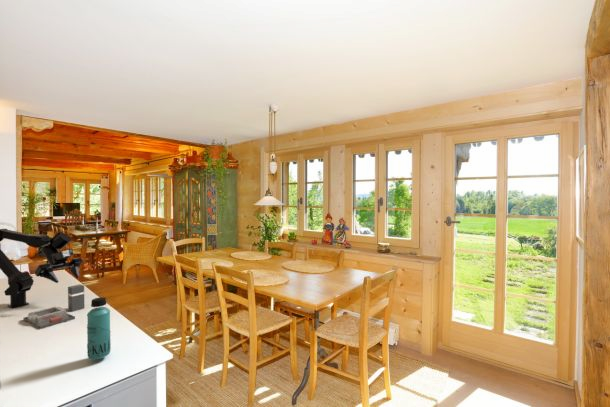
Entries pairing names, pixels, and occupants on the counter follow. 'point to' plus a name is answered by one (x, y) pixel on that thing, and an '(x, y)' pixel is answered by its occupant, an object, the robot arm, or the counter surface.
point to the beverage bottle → (98, 330)
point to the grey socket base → (48, 317)
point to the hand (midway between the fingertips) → (68, 279)
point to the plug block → (76, 297)
